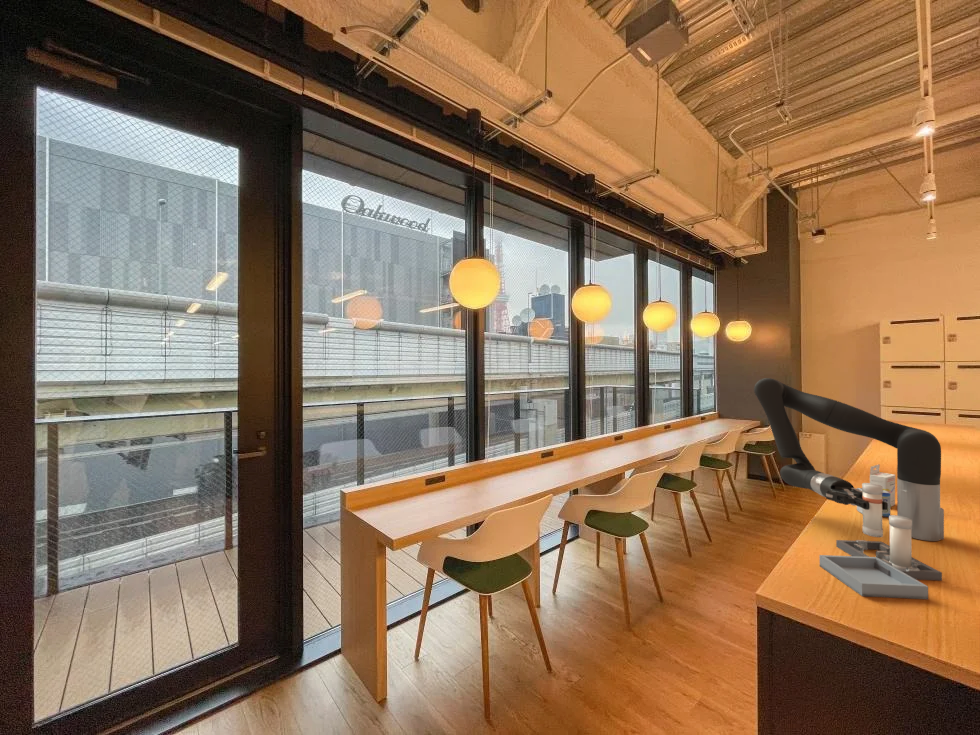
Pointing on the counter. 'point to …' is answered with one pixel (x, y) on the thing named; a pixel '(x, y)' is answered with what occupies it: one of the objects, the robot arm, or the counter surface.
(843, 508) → the counter surface
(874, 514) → the banded white cylinder
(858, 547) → the clip holder
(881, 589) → the tray
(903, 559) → the fuse
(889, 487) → the ink box
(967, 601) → the counter surface
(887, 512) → the medicine box
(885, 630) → the counter surface
